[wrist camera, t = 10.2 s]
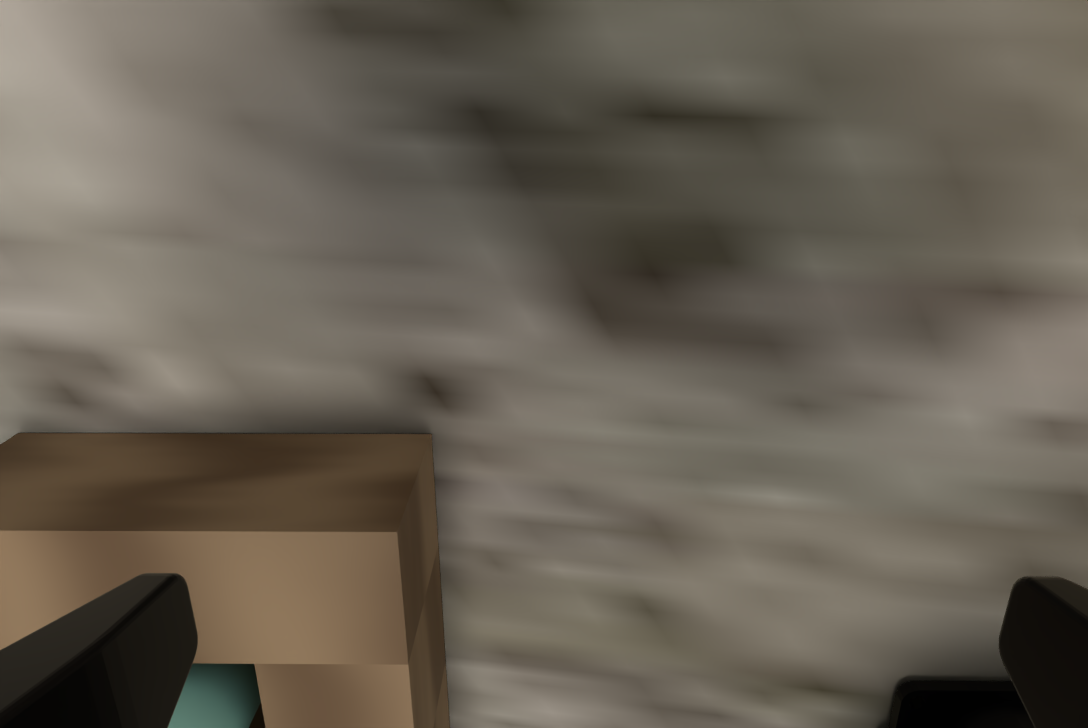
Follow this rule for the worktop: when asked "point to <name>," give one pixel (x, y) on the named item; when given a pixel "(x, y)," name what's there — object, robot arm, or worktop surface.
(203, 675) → the peg
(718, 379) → the worktop surface
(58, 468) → the socket block
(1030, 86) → the worktop surface
